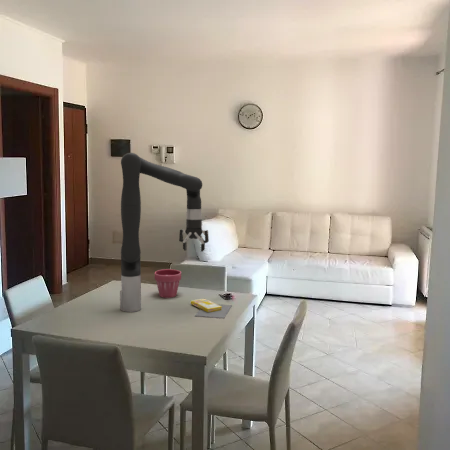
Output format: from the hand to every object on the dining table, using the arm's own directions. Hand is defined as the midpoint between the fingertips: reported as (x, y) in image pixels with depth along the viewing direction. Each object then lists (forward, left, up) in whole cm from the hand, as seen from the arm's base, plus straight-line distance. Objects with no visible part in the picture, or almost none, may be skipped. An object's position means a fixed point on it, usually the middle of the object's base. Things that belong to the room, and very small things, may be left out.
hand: (193, 250), depth 247 cm
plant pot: (-18, +15, -28) cm, 37 cm away
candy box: (+4, -4, -27) cm, 27 cm away
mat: (+12, -5, -28) cm, 31 cm away
